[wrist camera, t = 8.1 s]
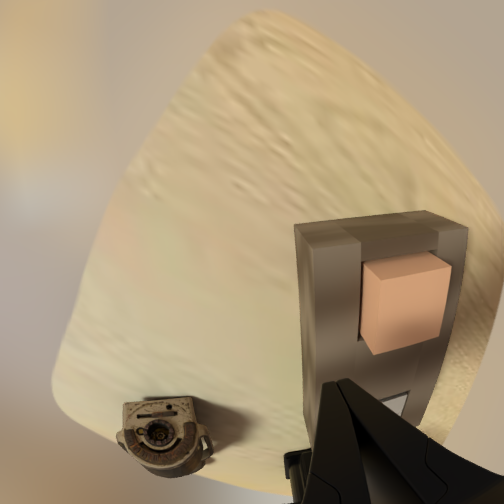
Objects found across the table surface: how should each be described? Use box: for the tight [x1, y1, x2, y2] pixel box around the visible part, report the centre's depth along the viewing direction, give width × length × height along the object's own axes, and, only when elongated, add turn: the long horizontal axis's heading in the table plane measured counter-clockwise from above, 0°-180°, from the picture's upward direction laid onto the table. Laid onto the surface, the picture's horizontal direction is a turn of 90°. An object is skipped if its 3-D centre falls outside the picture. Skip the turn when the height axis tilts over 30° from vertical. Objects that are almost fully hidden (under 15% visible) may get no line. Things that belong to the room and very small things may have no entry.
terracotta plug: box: [358, 251, 452, 355], centre depth 16 cm, size 4×4×5 cm
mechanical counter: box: [116, 397, 214, 478], centre depth 21 cm, size 7×13×10 cm
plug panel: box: [294, 210, 468, 451], centre depth 19 cm, size 18×10×5 cm, turn 7°
